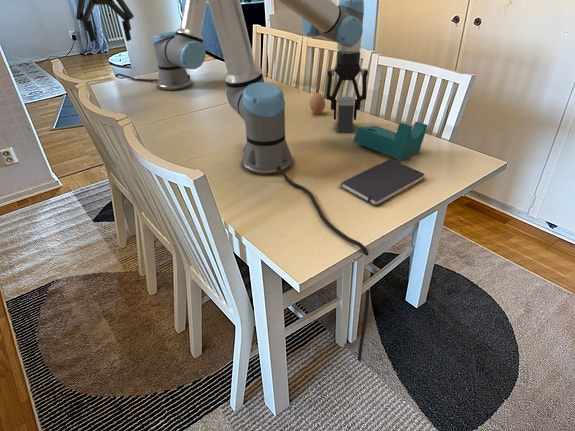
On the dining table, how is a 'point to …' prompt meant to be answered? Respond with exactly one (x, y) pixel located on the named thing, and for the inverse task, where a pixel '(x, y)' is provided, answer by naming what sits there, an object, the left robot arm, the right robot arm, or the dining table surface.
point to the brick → (345, 114)
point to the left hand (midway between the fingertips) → (111, 40)
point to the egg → (317, 103)
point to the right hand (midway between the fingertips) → (344, 118)
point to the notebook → (382, 181)
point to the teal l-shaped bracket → (392, 139)
